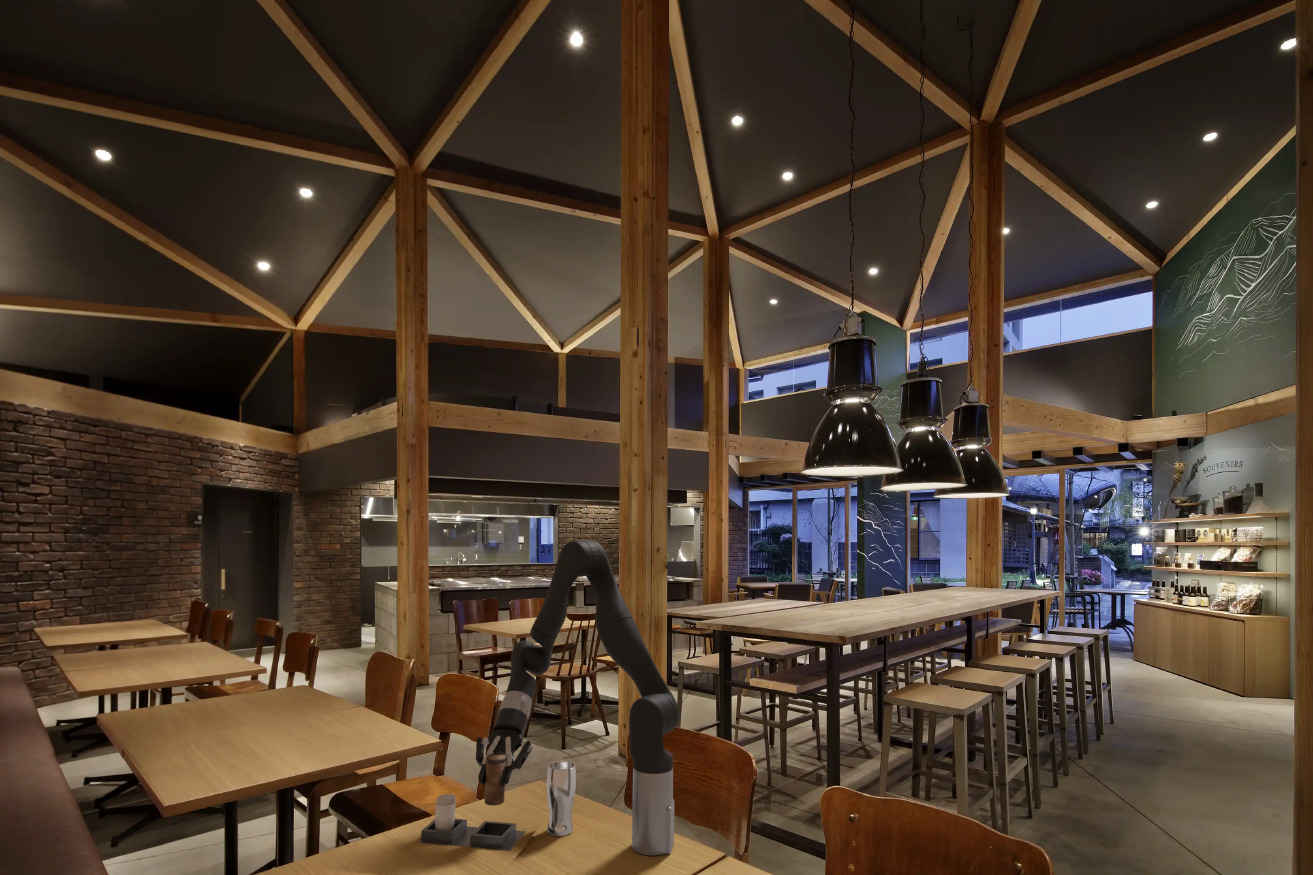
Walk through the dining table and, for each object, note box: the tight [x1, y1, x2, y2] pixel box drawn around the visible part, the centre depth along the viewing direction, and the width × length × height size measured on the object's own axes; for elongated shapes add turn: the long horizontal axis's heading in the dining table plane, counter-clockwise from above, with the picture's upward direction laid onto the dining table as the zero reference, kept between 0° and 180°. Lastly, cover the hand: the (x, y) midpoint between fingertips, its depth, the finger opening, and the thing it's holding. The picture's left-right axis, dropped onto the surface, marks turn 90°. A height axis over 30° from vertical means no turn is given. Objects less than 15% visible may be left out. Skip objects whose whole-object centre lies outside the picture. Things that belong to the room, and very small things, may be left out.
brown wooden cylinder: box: [484, 753, 506, 806], centre depth 162 cm, size 4×4×10 cm
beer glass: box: [546, 760, 577, 837], centre depth 168 cm, size 7×7×15 cm
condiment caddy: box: [417, 818, 527, 852], centre depth 161 cm, size 22×10×3 cm, turn 81°
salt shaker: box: [434, 793, 457, 831], centre depth 163 cm, size 4×4×8 cm
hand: (492, 783), depth 160 cm, fingers closed on brown wooden cylinder, 4 cm apart
